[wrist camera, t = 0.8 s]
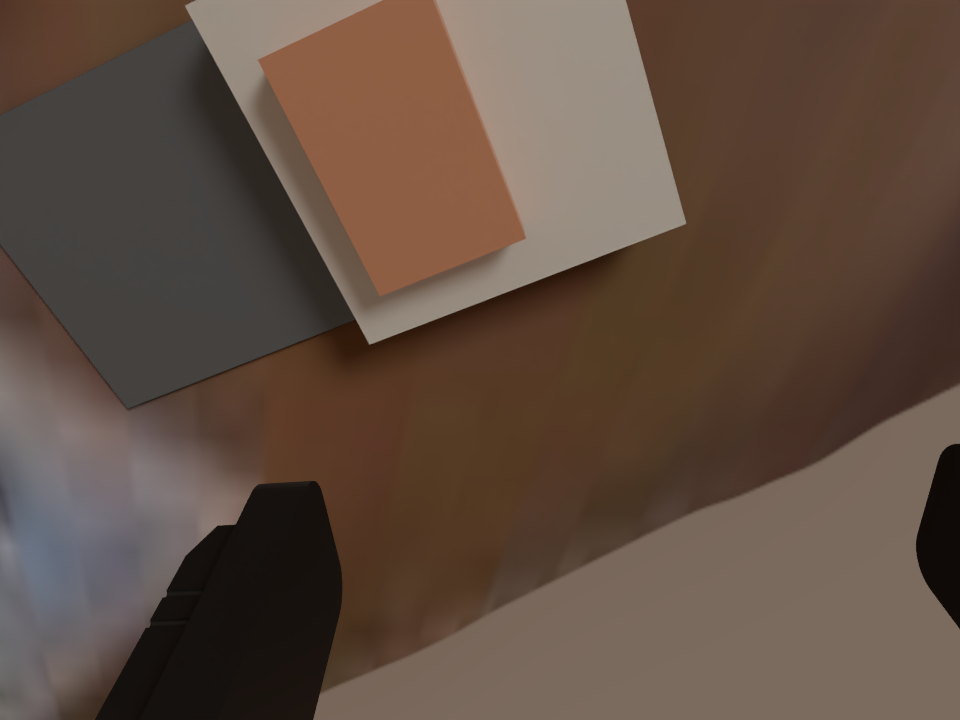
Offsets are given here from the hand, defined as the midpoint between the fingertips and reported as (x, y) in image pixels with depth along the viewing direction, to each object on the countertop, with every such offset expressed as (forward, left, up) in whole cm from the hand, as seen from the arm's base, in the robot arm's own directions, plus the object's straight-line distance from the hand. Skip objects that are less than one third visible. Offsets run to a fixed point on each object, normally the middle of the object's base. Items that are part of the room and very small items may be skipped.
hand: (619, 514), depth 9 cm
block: (+4, -3, -19) cm, 20 cm away
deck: (+2, -3, -23) cm, 23 cm away
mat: (+16, -3, -23) cm, 28 cm away
